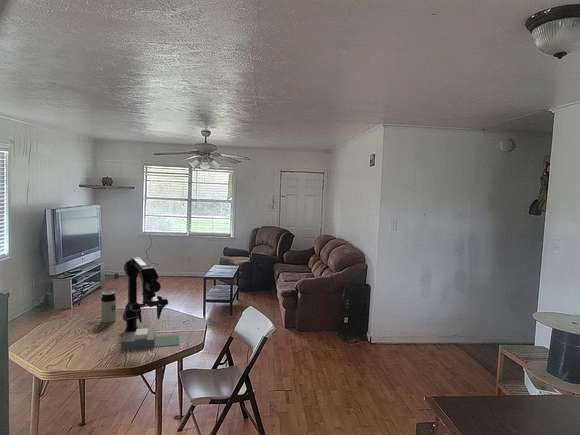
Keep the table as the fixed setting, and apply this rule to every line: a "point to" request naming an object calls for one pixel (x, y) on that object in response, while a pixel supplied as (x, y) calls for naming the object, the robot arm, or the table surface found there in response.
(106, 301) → the travel mug
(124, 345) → the grey flat box
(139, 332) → the block
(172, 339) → the mat
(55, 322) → the table surface
